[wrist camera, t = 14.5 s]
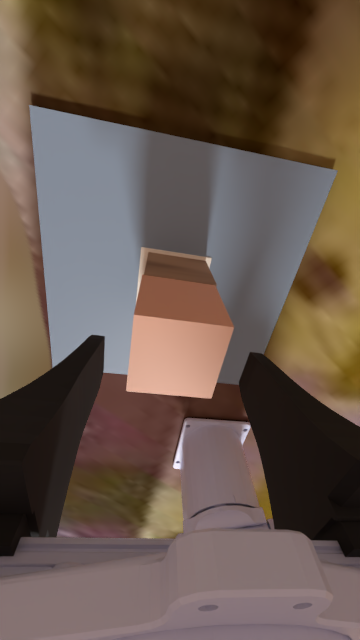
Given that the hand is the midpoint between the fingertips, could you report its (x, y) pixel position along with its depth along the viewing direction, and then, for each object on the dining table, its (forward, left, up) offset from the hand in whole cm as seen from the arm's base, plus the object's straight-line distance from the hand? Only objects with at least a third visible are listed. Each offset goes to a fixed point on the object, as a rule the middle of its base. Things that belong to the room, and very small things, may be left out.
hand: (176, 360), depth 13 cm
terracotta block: (0, 0, -5) cm, 5 cm away
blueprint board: (0, 0, -10) cm, 10 cm away
